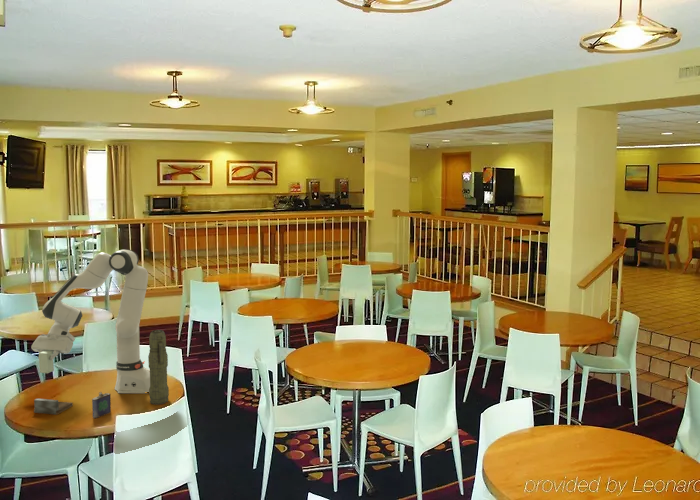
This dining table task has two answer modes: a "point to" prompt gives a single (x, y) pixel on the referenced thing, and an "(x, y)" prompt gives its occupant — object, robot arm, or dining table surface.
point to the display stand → (50, 406)
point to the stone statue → (158, 368)
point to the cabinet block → (45, 362)
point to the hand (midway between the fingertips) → (45, 359)
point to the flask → (101, 405)
